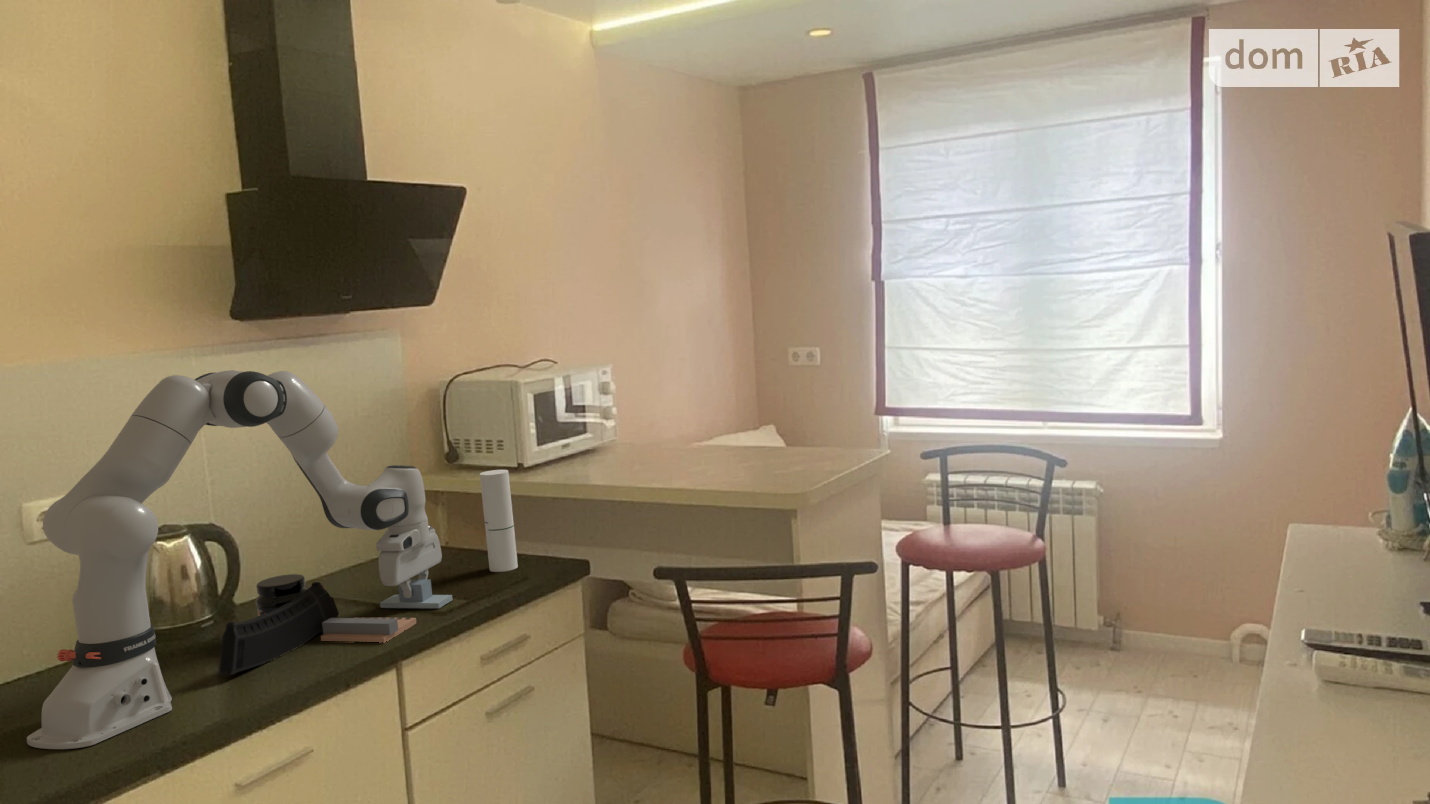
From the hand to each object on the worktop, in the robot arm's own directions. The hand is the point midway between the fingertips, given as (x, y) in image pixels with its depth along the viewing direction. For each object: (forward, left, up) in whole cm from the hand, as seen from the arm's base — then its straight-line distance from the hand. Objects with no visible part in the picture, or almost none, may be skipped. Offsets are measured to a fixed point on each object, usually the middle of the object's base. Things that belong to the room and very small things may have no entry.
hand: (415, 593), depth 227 cm
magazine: (-30, +12, -3) cm, 32 cm away
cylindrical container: (+30, -7, -3) cm, 31 cm away
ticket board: (-18, 0, -3) cm, 18 cm away
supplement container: (-20, +19, -3) cm, 28 cm away
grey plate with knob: (0, 0, -3) cm, 3 cm away
